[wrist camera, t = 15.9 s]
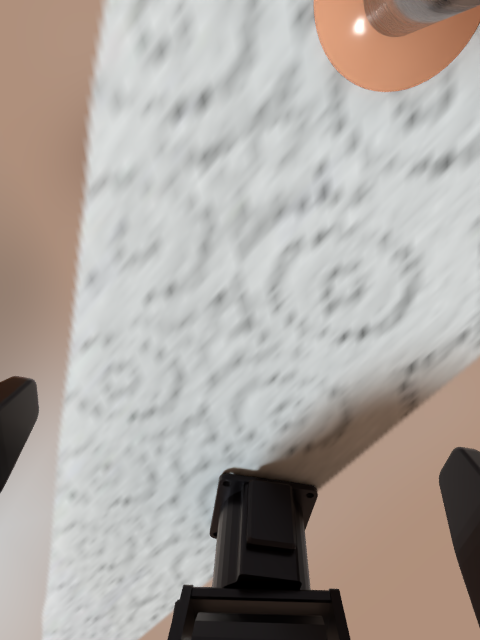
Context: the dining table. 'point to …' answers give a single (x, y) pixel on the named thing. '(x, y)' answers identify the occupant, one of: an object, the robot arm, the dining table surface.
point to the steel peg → (411, 14)
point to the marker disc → (388, 46)
